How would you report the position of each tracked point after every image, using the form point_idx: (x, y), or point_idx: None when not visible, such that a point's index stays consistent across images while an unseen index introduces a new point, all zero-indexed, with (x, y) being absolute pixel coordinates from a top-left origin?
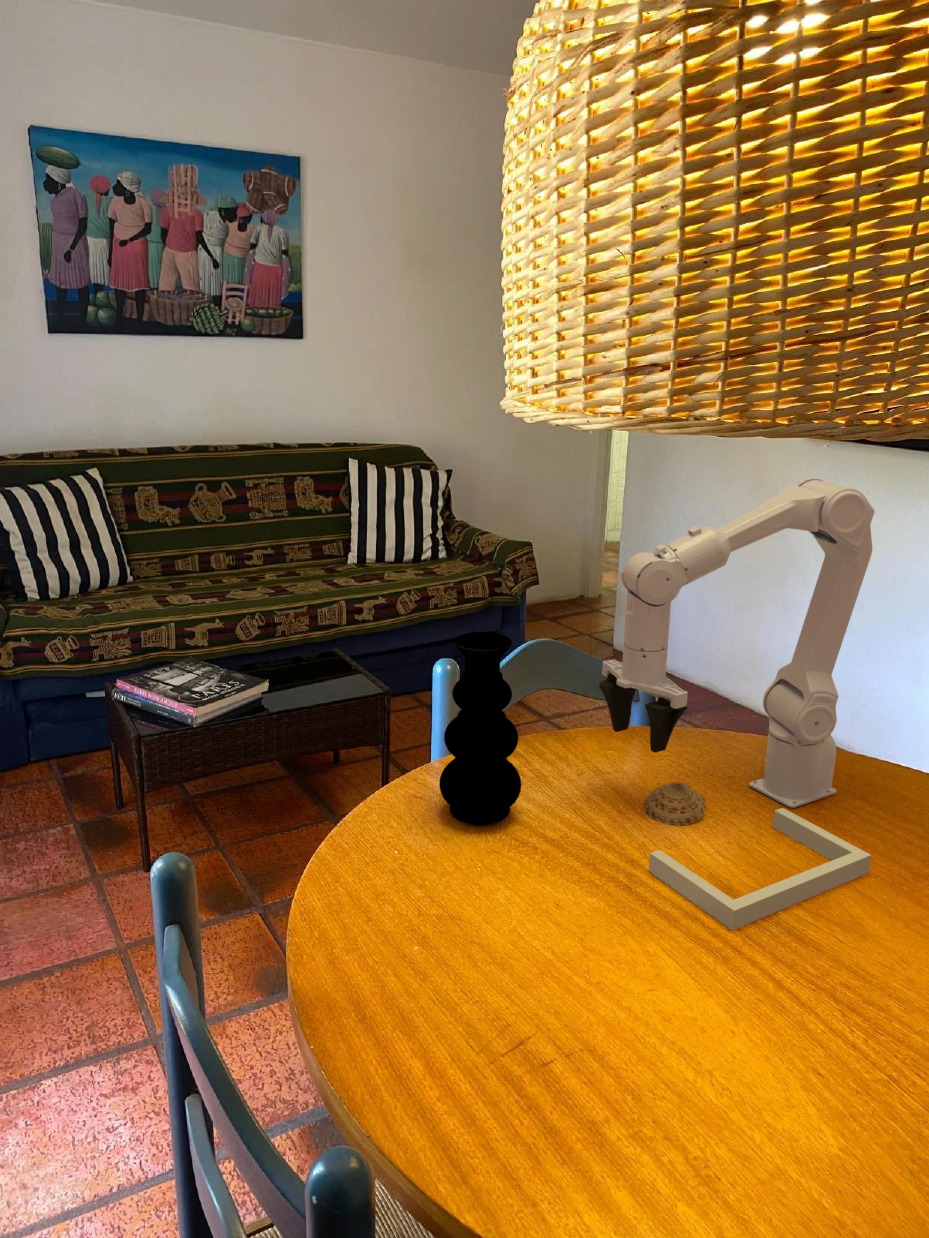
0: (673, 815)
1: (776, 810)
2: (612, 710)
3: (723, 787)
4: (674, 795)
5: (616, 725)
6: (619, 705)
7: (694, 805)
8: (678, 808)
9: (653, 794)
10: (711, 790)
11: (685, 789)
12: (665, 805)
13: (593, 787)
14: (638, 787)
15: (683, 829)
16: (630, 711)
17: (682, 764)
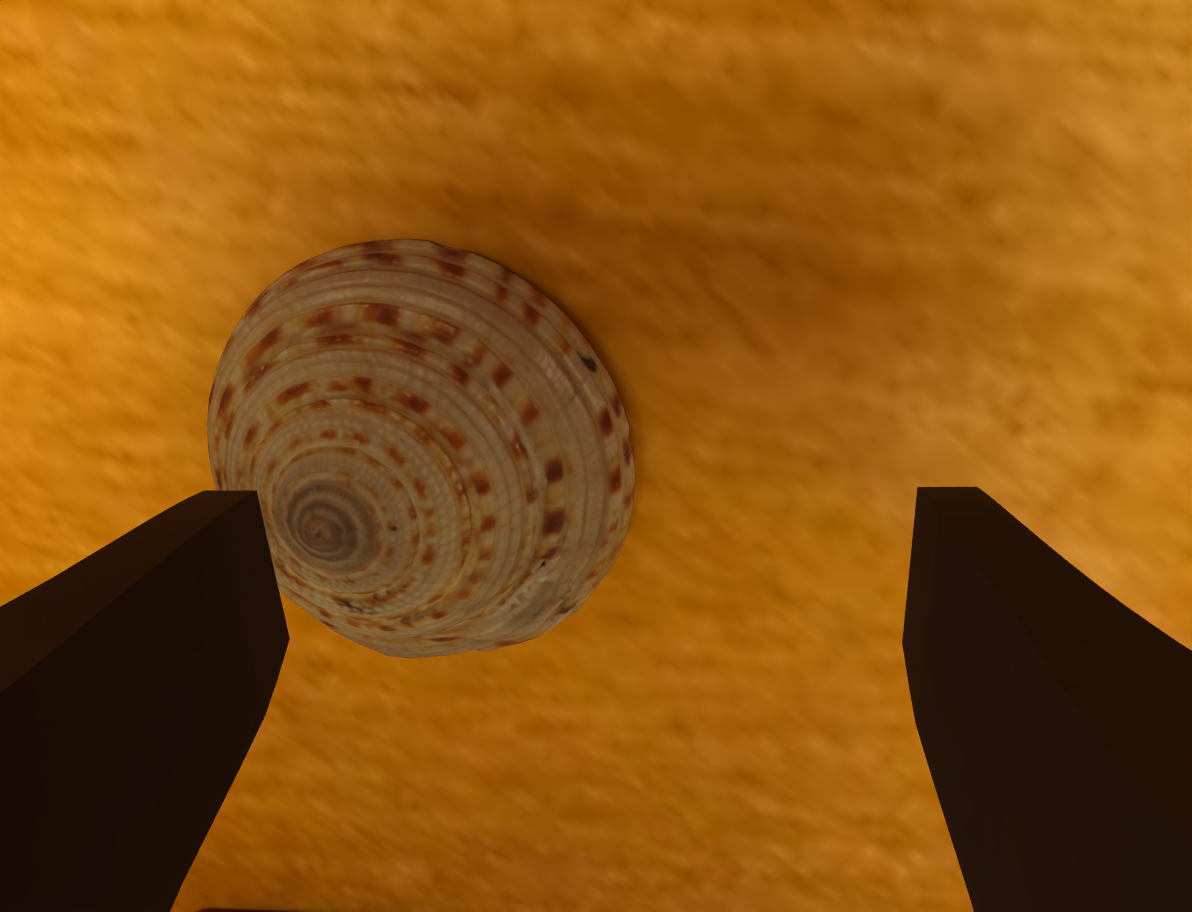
0: (251, 338)
1: None
2: (1049, 630)
3: (537, 832)
4: (288, 444)
5: (934, 533)
6: (1025, 791)
7: None
8: (241, 395)
9: (495, 384)
10: (539, 766)
11: (293, 550)
12: (315, 348)
13: (1012, 161)
14: (807, 451)
15: (186, 324)
16: (957, 851)
17: (888, 848)
